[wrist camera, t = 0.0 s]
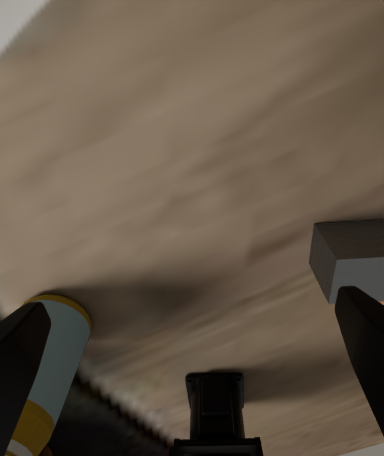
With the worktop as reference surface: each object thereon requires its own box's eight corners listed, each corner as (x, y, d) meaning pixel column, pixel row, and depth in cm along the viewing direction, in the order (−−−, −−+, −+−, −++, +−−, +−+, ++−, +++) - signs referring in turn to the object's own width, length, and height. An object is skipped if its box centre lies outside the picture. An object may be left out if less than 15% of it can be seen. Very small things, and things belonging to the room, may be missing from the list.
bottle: (88, 346, 33) (16, 539, 20) (21, 331, 32) (-100, 523, 19) (99, 301, 30) (20, 499, 17) (24, 282, 29) (-121, 478, 16)
